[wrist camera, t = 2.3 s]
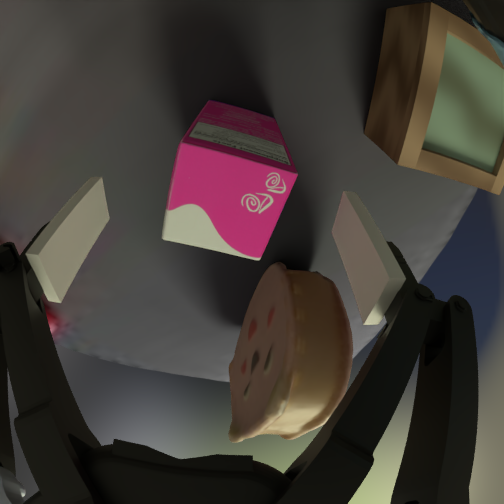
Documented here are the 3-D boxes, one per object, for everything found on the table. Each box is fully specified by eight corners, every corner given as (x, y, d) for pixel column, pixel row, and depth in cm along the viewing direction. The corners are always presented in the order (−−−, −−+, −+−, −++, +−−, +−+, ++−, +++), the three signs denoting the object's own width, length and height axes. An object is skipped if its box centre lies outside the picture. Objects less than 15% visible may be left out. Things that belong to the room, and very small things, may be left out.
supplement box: (256, 177, 25) (259, 266, 16) (191, 159, 24) (154, 240, 15) (279, 117, 21) (301, 175, 12) (208, 97, 20) (171, 138, 11)
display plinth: (386, 8, 14) (431, 2, 9) (486, 60, 15) (534, 76, 10) (363, 133, 22) (397, 164, 17) (460, 161, 22) (499, 195, 17)
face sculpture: (273, 233, 29) (286, 396, 16) (333, 248, 30) (374, 396, 17) (228, 339, 41) (223, 448, 28) (272, 346, 42) (277, 450, 30)
